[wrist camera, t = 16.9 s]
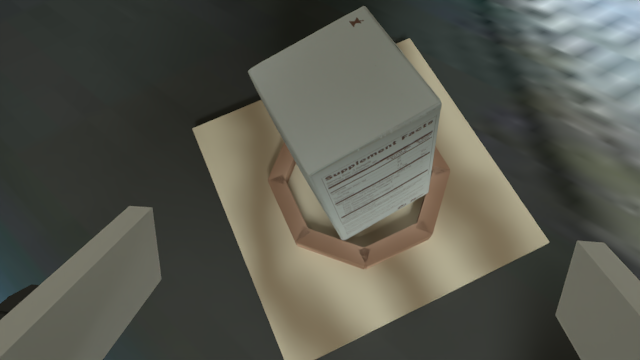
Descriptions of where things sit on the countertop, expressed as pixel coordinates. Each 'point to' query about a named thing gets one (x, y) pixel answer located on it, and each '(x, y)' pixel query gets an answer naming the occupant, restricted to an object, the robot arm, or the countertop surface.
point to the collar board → (368, 245)
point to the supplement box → (353, 119)
